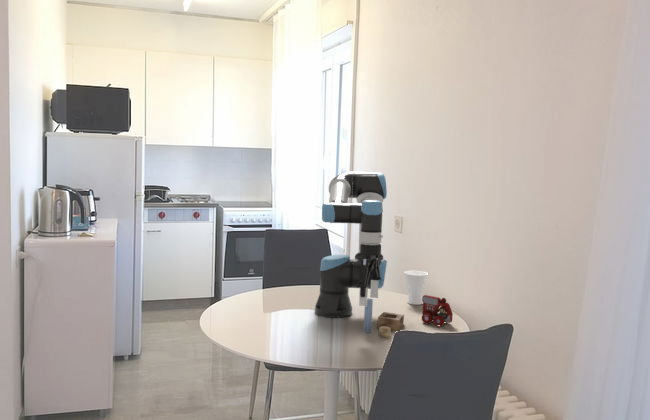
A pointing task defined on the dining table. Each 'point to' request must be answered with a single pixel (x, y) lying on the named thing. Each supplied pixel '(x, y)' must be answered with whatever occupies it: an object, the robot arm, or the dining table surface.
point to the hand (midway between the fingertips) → (368, 301)
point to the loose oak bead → (384, 332)
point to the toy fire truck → (436, 310)
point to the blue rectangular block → (368, 316)
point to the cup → (415, 285)
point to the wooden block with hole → (391, 320)
